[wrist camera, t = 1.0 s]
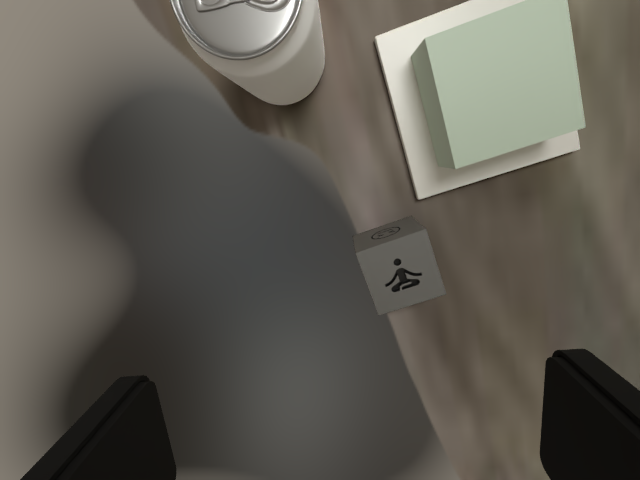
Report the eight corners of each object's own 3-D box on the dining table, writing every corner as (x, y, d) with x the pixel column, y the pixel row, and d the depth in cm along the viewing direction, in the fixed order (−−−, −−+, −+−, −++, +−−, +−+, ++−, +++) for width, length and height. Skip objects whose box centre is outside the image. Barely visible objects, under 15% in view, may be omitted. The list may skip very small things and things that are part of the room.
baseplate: (545, -25, 23) (553, -32, 22) (573, 149, 26) (580, 149, 25) (374, 40, 25) (375, 36, 24) (416, 198, 27) (418, 199, 27)
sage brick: (527, 13, 23) (565, -15, 19) (547, 130, 25) (585, 127, 21) (410, 56, 24) (424, 38, 20) (438, 166, 26) (455, 169, 22)
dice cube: (371, 288, 30) (378, 315, 25) (352, 236, 29) (355, 253, 24) (428, 270, 29) (446, 294, 24) (410, 215, 28) (426, 228, 23)
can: (328, 102, 26) (320, 63, 14) (244, 109, 26) (170, 77, 15) (322, 5, 24) (308, -126, 13) (233, 14, 25) (140, -105, 13)
